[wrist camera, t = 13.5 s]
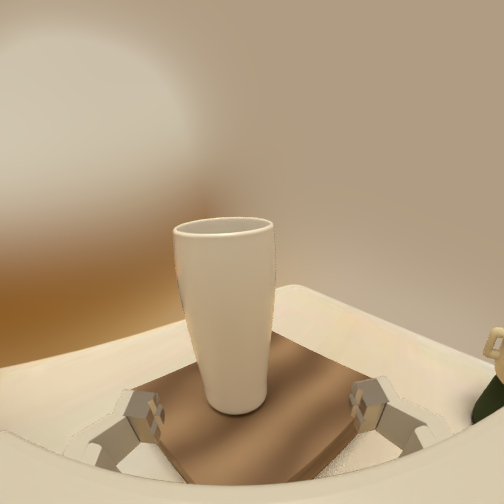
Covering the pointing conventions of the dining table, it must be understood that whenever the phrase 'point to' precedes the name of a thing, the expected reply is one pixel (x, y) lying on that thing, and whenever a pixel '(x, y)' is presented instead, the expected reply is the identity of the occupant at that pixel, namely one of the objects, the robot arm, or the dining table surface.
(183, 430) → the walnut riser dock
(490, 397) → the character mug
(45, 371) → the dining table surface
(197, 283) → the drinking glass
